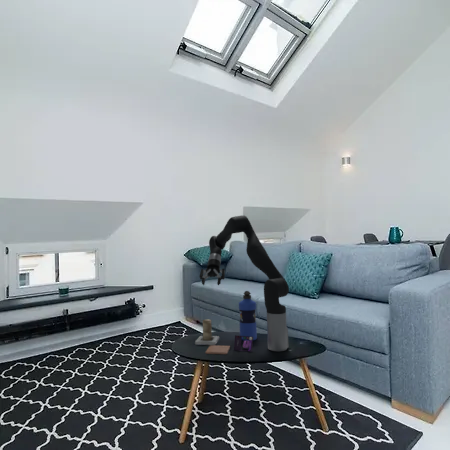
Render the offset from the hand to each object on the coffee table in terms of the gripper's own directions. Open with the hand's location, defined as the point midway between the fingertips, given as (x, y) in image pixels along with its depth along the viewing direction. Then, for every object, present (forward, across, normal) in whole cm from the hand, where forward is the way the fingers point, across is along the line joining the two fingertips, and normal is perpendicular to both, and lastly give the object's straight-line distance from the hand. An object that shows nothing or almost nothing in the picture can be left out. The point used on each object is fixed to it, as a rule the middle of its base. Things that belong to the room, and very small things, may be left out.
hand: (210, 284), depth 187 cm
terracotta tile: (+38, +8, +2) cm, 39 cm away
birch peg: (+28, 0, +12) cm, 31 cm away
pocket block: (+28, 0, +12) cm, 31 cm away
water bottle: (+23, +21, +17) cm, 35 cm away
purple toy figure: (+36, +20, +4) cm, 42 cm away
